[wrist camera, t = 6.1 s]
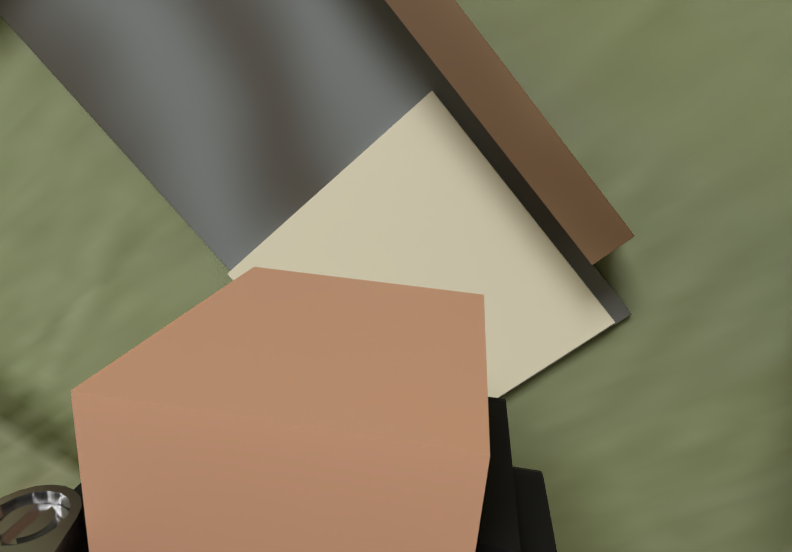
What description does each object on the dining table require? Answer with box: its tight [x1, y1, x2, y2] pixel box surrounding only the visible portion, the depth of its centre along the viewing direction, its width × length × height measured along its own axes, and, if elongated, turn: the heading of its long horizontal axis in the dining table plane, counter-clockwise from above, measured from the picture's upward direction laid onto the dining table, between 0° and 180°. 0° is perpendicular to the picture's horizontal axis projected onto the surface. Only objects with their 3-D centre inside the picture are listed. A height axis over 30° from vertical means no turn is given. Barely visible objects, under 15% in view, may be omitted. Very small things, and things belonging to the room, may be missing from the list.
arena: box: [0, 0, 634, 398], centre depth 17 cm, size 12×26×3 cm, turn 40°
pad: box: [227, 91, 615, 398], centre depth 19 cm, size 10×10×1 cm
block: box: [71, 267, 490, 552], centre depth 9 cm, size 7×4×5 cm, turn 175°
